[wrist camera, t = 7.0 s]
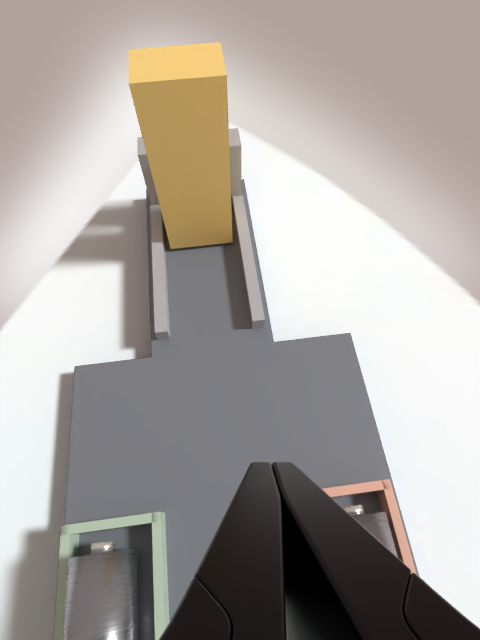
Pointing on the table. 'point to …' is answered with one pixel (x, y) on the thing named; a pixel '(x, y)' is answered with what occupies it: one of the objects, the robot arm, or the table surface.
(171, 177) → the tall mustard pillar
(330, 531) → the robot arm
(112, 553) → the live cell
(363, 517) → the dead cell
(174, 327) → the checker
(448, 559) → the table surface
